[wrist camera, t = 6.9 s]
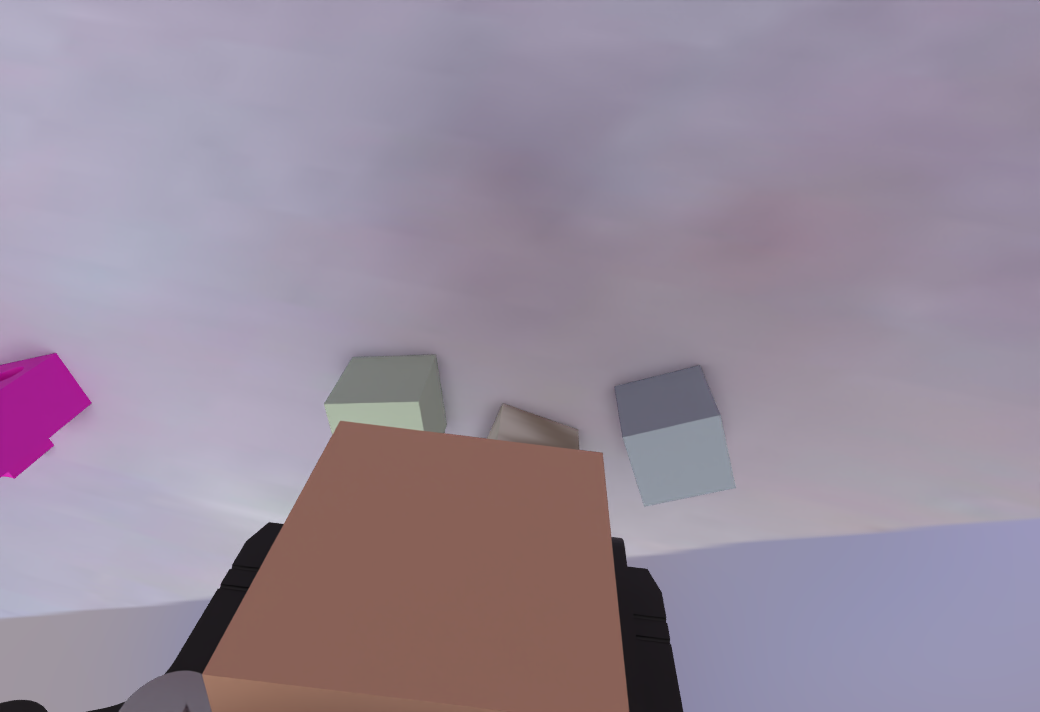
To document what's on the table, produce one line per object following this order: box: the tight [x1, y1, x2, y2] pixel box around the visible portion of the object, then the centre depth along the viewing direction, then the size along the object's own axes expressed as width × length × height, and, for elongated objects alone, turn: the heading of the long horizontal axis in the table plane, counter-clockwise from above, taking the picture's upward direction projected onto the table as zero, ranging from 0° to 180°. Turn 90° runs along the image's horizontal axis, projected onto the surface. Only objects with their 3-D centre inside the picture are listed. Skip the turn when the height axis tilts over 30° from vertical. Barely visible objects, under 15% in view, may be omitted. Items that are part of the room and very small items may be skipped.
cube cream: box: [487, 404, 579, 450], centre depth 35 cm, size 5×5×5 cm
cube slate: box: [615, 365, 736, 507], centre depth 34 cm, size 5×5×5 cm
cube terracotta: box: [202, 421, 629, 712], centre depth 10 cm, size 5×5×5 cm
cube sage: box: [324, 355, 447, 435], centre depth 34 cm, size 5×5×5 cm
